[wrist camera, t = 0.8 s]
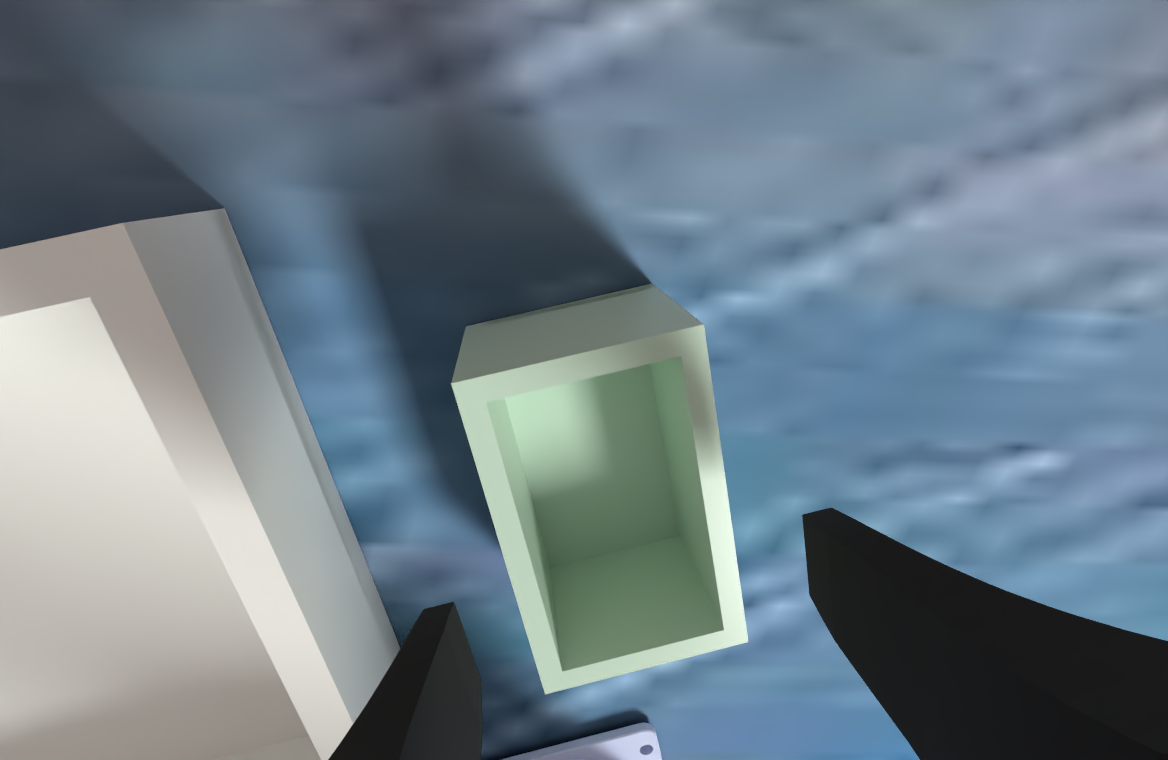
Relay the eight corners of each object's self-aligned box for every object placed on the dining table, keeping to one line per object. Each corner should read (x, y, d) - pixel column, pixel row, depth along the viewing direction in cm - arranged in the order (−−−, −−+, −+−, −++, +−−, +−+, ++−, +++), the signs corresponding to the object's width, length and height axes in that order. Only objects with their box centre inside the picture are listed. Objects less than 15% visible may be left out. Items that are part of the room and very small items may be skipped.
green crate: (694, 536, 21) (748, 641, 16) (536, 575, 21) (545, 694, 16) (652, 283, 18) (703, 324, 13) (465, 326, 18) (451, 383, 13)
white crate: (425, 710, 22) (406, 837, 18) (-22, 824, 21) (-152, 986, 17) (224, 208, 16) (123, 222, 12) (-415, 347, 15) (-769, 416, 11)
